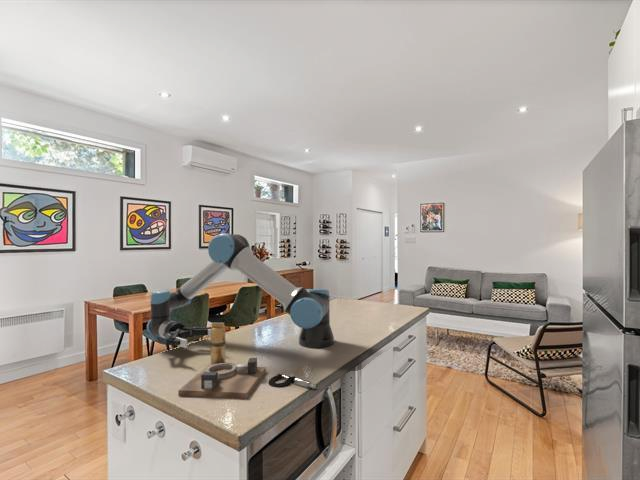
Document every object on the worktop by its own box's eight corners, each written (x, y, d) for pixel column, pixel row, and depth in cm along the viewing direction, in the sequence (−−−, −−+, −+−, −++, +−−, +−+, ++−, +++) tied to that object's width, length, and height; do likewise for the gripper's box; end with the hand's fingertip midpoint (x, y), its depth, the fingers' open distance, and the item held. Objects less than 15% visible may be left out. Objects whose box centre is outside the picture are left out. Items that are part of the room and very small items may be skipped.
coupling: (228, 361, 119) (227, 321, 119) (222, 367, 114) (222, 324, 114) (214, 361, 120) (214, 321, 120) (207, 366, 114) (207, 324, 115)
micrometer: (263, 384, 100) (263, 376, 100) (280, 377, 106) (280, 369, 106) (300, 398, 91) (300, 389, 91) (316, 389, 97) (316, 380, 97)
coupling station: (265, 371, 109) (265, 355, 109) (246, 398, 90) (246, 379, 90) (208, 369, 111) (208, 354, 111) (178, 395, 93) (178, 376, 93)
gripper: (199, 333, 145) (230, 341, 132) (141, 348, 124) (171, 359, 112) (199, 316, 145) (230, 322, 132) (141, 328, 125) (171, 337, 112)
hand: (203, 339), depth 122 cm, fingers open, 13 cm apart
